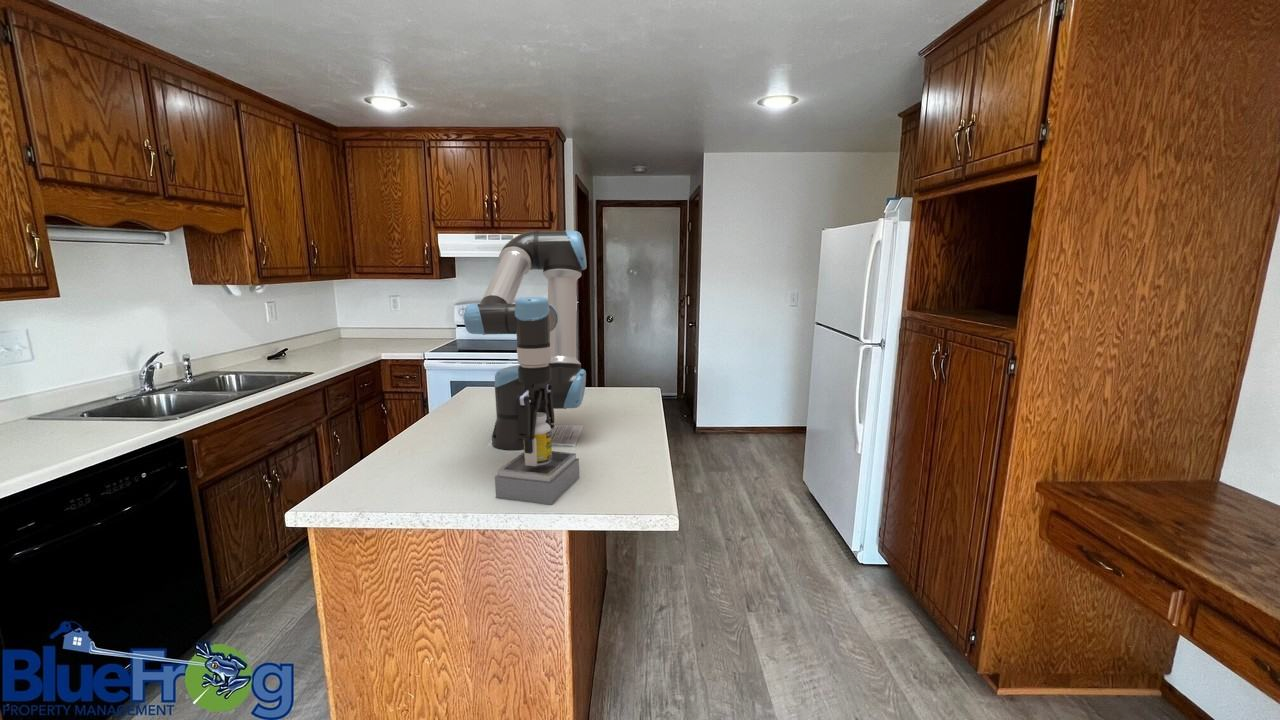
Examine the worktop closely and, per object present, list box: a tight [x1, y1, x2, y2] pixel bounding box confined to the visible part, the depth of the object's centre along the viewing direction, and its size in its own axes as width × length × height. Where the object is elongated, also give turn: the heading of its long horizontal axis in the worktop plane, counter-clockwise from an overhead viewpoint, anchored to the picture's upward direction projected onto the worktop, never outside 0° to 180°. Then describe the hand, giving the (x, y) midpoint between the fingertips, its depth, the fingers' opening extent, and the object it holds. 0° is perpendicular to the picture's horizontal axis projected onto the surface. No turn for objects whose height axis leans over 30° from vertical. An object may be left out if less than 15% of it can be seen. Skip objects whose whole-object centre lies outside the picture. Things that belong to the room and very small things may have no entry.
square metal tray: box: [494, 450, 580, 506], centre depth 126 cm, size 16×16×6 cm
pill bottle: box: [523, 412, 553, 466], centre depth 124 cm, size 6×6×12 cm
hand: (538, 459), depth 125 cm, fingers closed on pill bottle, 6 cm apart
